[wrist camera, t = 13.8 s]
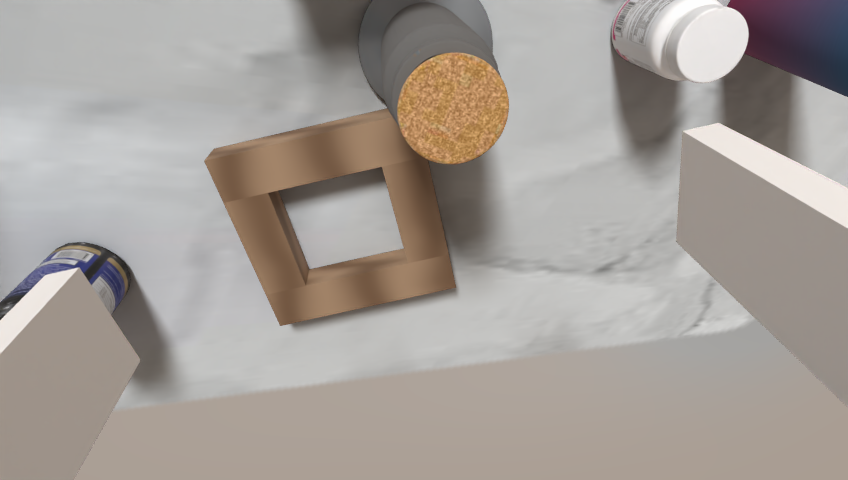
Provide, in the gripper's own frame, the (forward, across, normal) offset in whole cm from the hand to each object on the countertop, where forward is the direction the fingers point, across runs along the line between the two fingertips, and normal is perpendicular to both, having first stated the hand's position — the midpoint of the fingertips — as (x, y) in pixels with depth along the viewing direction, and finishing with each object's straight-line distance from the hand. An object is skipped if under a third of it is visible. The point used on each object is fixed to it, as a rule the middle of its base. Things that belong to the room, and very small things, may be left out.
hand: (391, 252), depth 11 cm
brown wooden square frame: (+27, -6, -12) cm, 30 cm away
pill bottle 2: (+27, +18, -2) cm, 32 cm away
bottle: (+26, +3, -1) cm, 27 cm away
